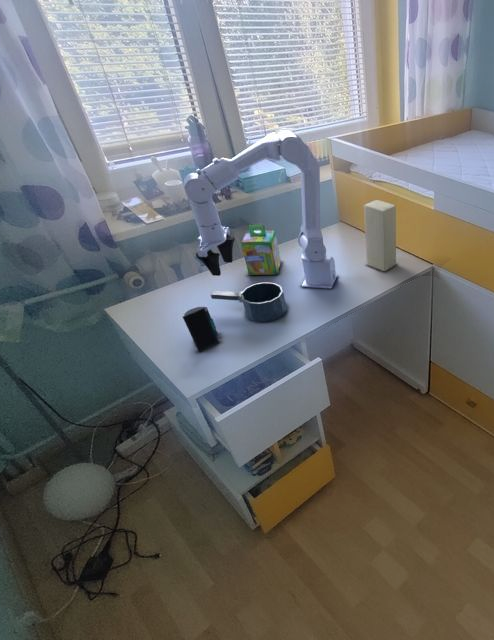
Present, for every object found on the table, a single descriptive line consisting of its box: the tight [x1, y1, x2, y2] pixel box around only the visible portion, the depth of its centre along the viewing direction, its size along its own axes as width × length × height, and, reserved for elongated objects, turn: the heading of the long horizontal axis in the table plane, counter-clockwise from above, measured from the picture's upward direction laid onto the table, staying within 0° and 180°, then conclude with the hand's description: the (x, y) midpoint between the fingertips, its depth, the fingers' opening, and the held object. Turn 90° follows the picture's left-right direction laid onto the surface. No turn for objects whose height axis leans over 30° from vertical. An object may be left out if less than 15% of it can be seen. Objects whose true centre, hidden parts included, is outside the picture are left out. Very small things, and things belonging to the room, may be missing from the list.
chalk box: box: [240, 224, 282, 276], centre depth 137 cm, size 9×9×15 cm
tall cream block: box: [363, 199, 397, 272], centre depth 141 cm, size 8×7×21 cm
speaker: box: [182, 306, 220, 353], centre depth 109 cm, size 8×6×10 cm
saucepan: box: [210, 281, 287, 323], centre depth 121 cm, size 20×11×6 cm, turn 87°
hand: (222, 268), depth 121 cm, fingers open, 7 cm apart
